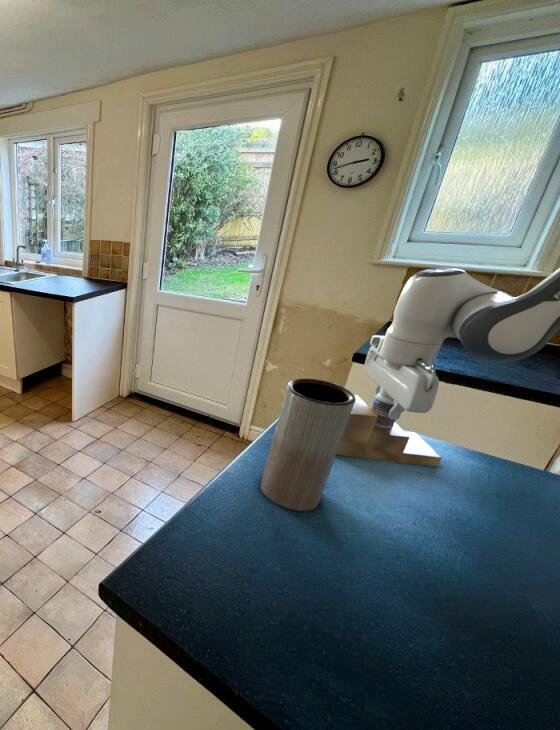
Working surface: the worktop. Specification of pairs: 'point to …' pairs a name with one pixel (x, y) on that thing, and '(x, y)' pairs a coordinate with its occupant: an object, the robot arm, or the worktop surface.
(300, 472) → the planter
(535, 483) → the worktop surface
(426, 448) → the small staircase
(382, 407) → the pill bottle
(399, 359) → the robot arm
